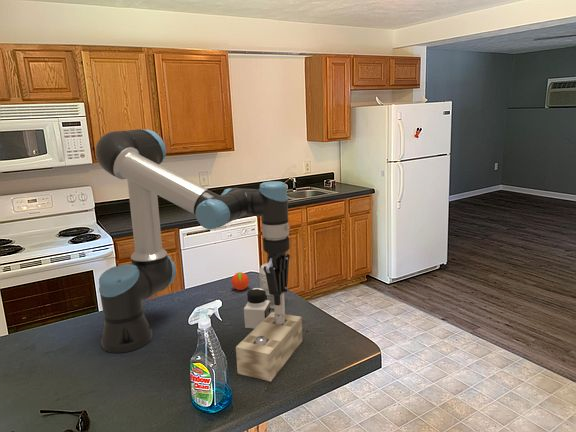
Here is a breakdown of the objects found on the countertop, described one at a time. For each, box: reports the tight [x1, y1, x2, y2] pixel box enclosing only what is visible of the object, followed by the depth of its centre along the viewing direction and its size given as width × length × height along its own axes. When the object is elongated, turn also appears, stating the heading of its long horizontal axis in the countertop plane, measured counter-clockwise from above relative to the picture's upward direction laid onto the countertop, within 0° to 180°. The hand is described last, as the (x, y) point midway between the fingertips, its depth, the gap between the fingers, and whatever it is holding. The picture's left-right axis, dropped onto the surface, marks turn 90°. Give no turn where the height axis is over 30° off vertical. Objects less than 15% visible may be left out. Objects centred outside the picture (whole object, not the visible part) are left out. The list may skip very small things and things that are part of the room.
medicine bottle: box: [243, 287, 271, 330], centre depth 142 cm, size 7×7×12 cm
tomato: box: [231, 272, 250, 291], centre depth 171 cm, size 8×7×7 cm
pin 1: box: [255, 336, 267, 346], centre depth 117 cm, size 3×3×8 cm
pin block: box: [235, 311, 303, 382], centre depth 123 cm, size 10×22×8 cm, turn 156°
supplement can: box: [258, 262, 274, 310], centre depth 156 cm, size 8×8×15 cm
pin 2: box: [274, 313, 286, 325], centre depth 128 cm, size 3×3×8 cm
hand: (279, 313), depth 127 cm, fingers closed
